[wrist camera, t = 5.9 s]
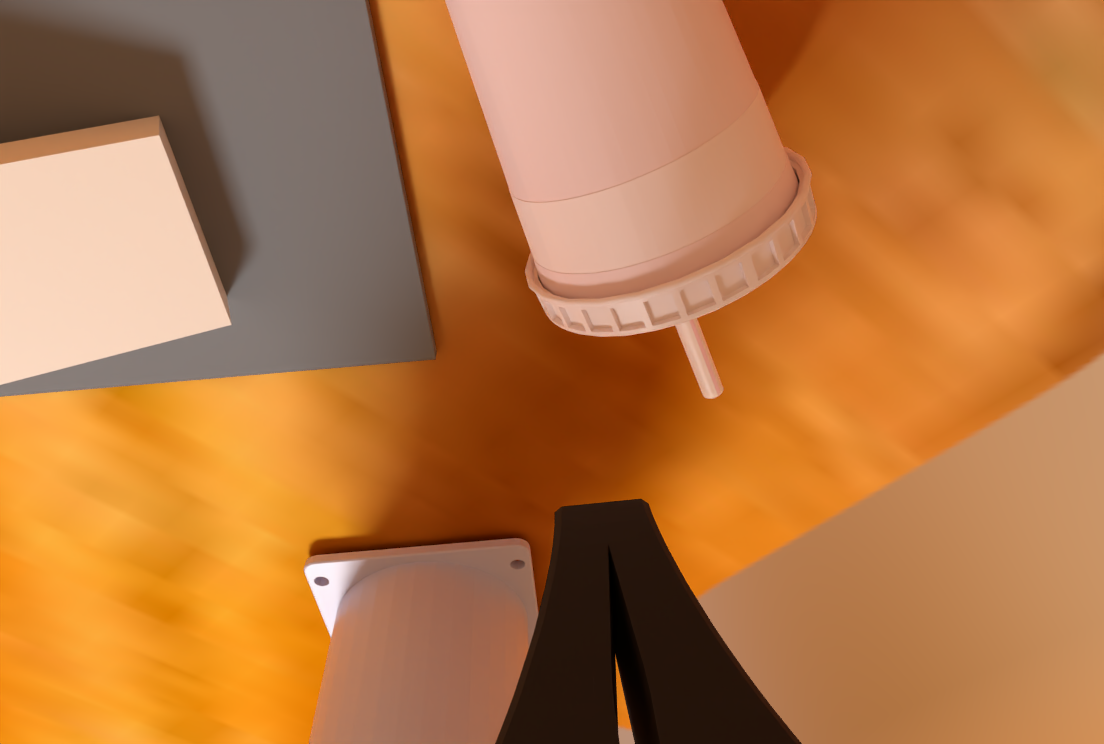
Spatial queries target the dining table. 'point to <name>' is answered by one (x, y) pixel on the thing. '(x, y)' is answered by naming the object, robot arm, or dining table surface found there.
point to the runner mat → (242, 171)
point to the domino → (99, 249)
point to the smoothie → (636, 161)
